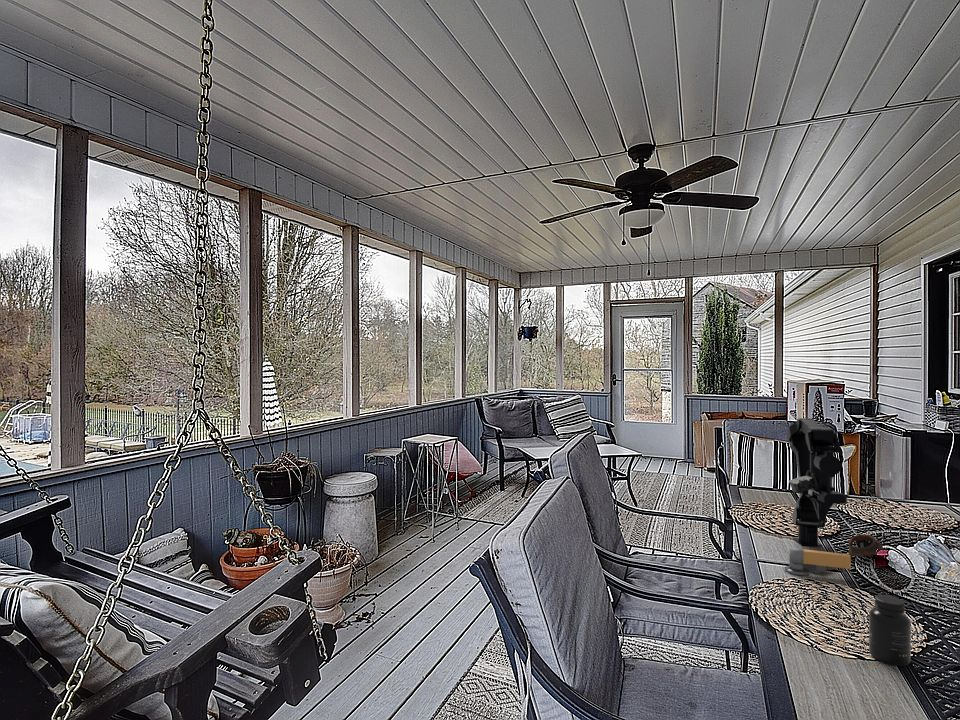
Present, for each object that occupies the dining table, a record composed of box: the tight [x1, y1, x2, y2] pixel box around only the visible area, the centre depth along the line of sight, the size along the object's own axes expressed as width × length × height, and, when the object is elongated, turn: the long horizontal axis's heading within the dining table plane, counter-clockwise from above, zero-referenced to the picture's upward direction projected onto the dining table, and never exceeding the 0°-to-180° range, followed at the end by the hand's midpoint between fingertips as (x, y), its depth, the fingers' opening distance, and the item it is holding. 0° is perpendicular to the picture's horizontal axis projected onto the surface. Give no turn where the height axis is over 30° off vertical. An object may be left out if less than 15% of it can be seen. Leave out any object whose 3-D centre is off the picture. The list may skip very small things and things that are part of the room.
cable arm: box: [788, 547, 852, 570], centre depth 154 cm, size 15×4×4 cm, turn 69°
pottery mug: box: [848, 533, 884, 559], centre depth 167 cm, size 12×9×8 cm
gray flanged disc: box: [784, 561, 810, 577], centre depth 156 cm, size 6×6×3 cm
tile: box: [804, 564, 828, 574], centre depth 159 cm, size 7×5×3 cm
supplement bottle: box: [868, 594, 912, 667], centre depth 111 cm, size 7×7×12 cm
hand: (820, 519), depth 167 cm, fingers closed
